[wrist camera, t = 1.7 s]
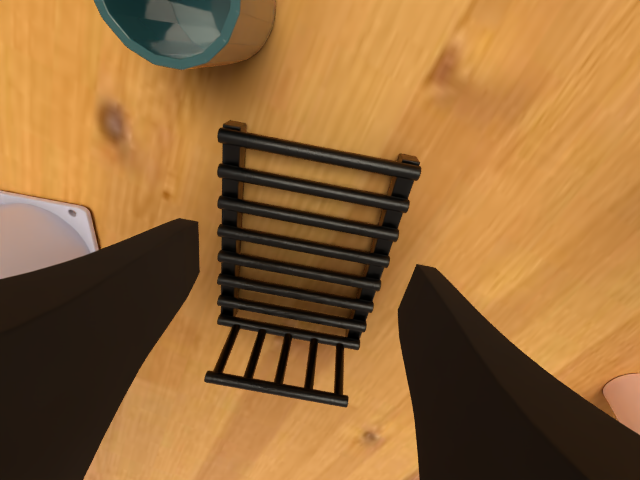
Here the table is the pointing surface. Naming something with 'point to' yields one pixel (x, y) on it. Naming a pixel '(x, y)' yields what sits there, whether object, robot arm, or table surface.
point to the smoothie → (625, 399)
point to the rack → (233, 234)
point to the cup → (190, 29)
